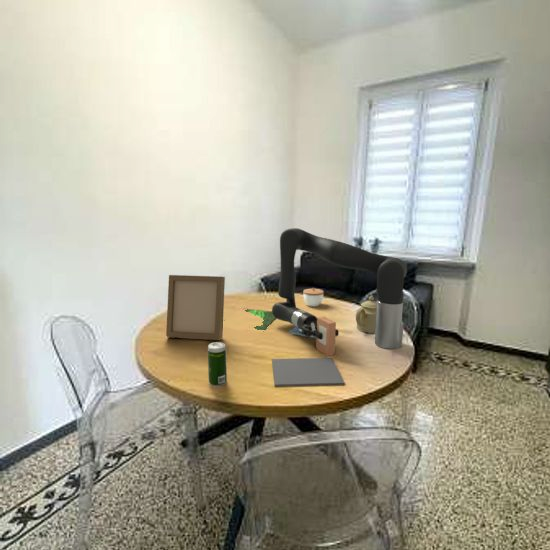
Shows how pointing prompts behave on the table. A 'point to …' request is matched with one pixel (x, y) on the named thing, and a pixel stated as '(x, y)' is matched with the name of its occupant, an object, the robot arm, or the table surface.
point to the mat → (306, 372)
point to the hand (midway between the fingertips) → (329, 335)
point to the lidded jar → (313, 297)
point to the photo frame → (195, 307)
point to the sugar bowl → (367, 316)
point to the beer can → (217, 364)
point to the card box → (326, 335)
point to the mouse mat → (266, 316)
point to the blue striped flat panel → (297, 332)
